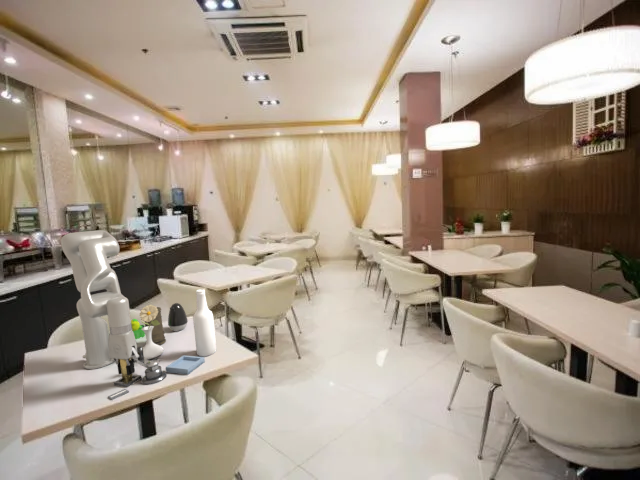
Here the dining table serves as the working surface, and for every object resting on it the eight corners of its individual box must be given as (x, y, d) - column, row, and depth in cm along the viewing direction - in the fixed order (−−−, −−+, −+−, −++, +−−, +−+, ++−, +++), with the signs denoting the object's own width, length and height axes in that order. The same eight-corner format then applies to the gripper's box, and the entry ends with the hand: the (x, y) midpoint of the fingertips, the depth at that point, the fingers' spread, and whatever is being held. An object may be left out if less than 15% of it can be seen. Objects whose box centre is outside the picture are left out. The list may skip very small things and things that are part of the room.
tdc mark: (125, 389, 131) (124, 388, 131) (128, 392, 129) (128, 390, 129) (107, 397, 126) (107, 396, 126) (111, 400, 124) (111, 398, 124)
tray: (166, 372, 143) (165, 367, 143) (183, 360, 153) (183, 355, 153) (188, 374, 140) (187, 369, 139) (204, 362, 150) (204, 357, 150)
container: (169, 341, 176) (165, 307, 174) (152, 348, 168) (148, 313, 166) (159, 338, 181) (155, 305, 179) (142, 345, 173) (138, 311, 171)
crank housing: (114, 385, 135) (112, 375, 134) (138, 370, 146) (137, 361, 146) (148, 389, 129) (147, 379, 129) (171, 374, 141) (170, 364, 140)
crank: (161, 367, 138) (159, 351, 137) (150, 372, 134) (148, 355, 134) (145, 359, 146) (143, 344, 145) (134, 364, 143) (132, 348, 142)
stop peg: (120, 383, 136) (116, 354, 134) (128, 379, 139) (124, 350, 138) (127, 384, 134) (124, 355, 133) (135, 379, 138) (131, 351, 137)
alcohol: (193, 354, 159) (186, 291, 155) (209, 347, 166) (203, 286, 162) (204, 358, 153) (197, 293, 150) (220, 351, 160) (214, 288, 157)
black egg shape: (164, 332, 189) (161, 306, 187) (175, 326, 199) (172, 300, 197) (181, 333, 187) (178, 306, 185) (191, 326, 197) (189, 300, 196)
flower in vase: (131, 360, 156) (124, 307, 153) (151, 349, 167) (145, 300, 164) (153, 363, 152) (146, 309, 149) (172, 352, 162) (166, 301, 159)
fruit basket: (143, 333, 191) (141, 313, 190) (148, 337, 184) (146, 316, 183) (120, 339, 183) (118, 319, 182) (125, 343, 177) (122, 322, 175)
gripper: (96, 331, 133) (102, 376, 135) (129, 333, 128) (135, 380, 130) (113, 324, 140) (118, 366, 142) (145, 326, 135) (150, 370, 137)
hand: (126, 372), depth 136 cm, fingers closed on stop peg, 3 cm apart
